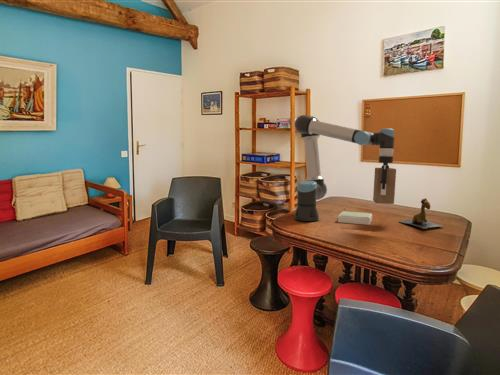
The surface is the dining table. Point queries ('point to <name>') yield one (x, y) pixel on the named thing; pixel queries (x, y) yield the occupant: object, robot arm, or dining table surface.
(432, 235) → the dining table surface
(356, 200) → the dining table surface
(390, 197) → the wooden block
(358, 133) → the robot arm
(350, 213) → the picture frame
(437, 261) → the dining table surface
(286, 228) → the dining table surface
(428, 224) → the stuffed giraffe
